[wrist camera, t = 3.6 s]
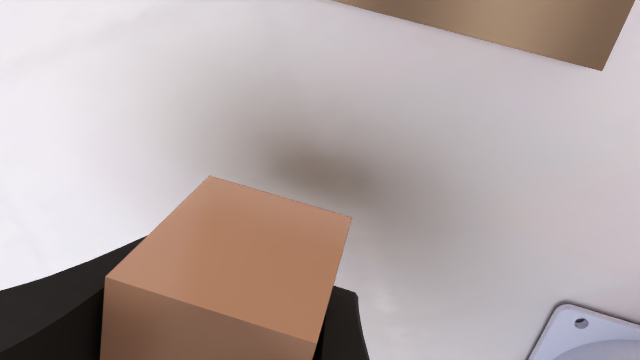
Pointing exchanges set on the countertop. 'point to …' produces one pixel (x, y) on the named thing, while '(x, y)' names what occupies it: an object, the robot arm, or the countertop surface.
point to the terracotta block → (225, 280)
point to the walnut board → (522, 23)
